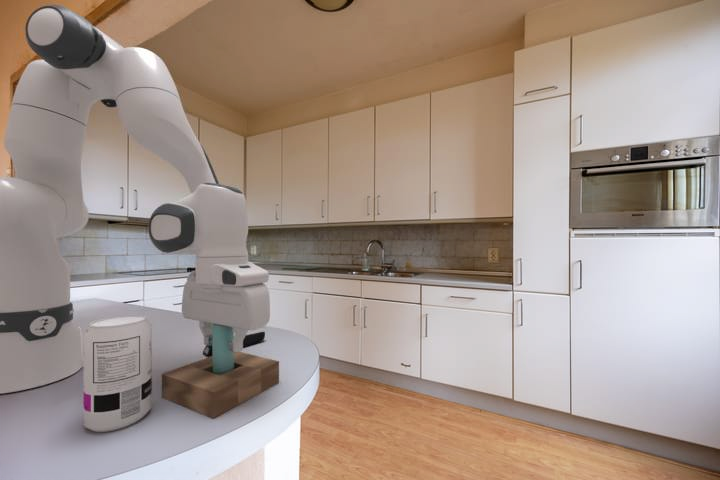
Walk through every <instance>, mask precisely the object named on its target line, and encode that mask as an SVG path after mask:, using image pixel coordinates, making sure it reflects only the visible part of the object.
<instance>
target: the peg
mask: <svg viewBox="0 0 720 480" xmlns="http://www.w3.org/2000/svg"><path fill="white" fill-rule="evenodd" d="M234 336H235V333H233V327H229V326H224V325H219V324H212V349H213V373H214V374H218V375H222V374H224V373H227V372H229V371H231V370H234V352H233V351H230V350H229V347H230V346H229V342H230V341H233V338H234Z"/></svg>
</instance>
